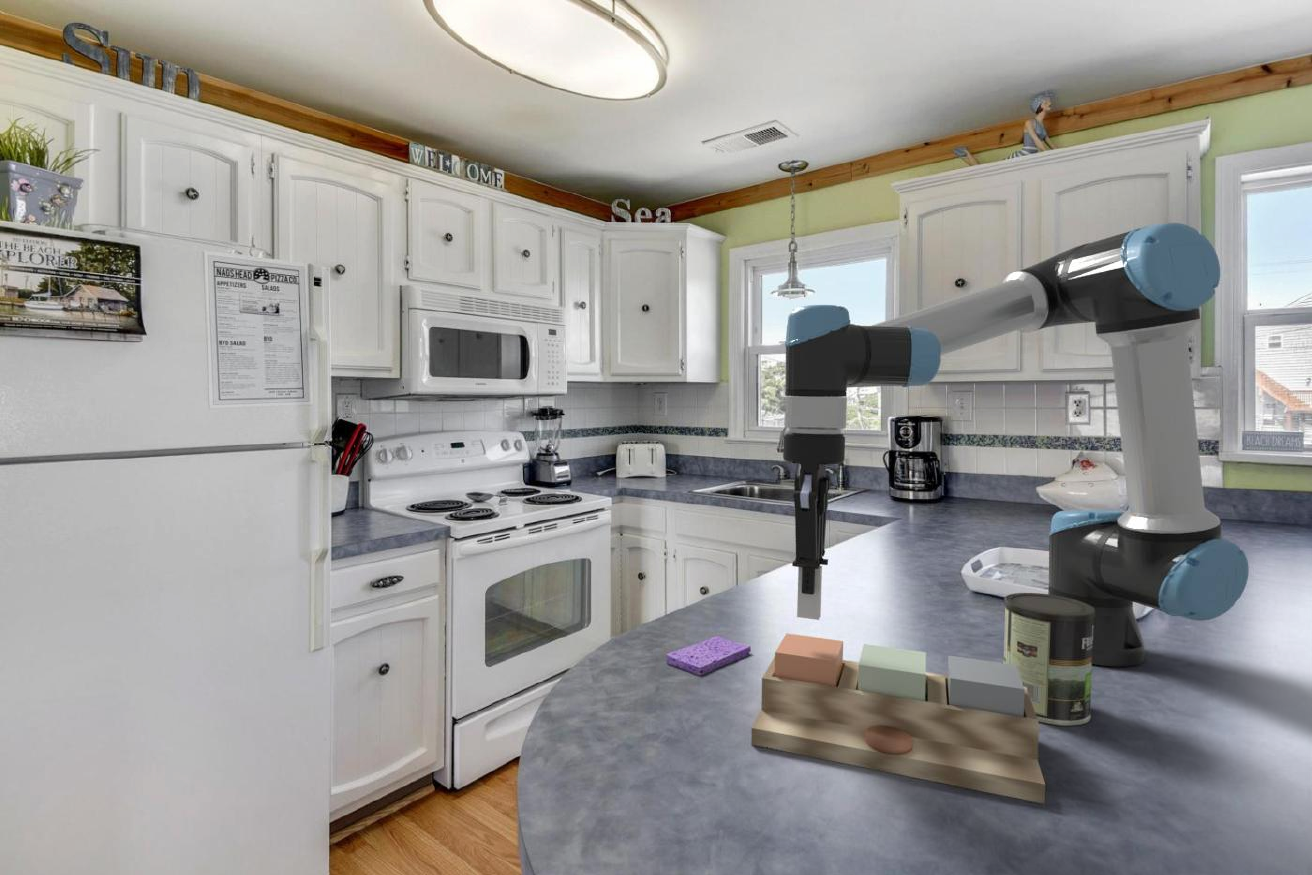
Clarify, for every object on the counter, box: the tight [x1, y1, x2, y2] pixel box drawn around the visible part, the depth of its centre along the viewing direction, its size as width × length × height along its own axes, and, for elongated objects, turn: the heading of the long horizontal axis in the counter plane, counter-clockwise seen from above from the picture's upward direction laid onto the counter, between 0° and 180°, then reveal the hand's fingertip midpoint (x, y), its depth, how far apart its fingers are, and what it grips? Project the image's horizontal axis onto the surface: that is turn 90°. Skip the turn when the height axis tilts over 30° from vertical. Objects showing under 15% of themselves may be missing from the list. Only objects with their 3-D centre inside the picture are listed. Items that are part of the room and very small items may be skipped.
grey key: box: [947, 654, 1025, 717], centre depth 78 cm, size 7×7×5 cm
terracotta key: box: [774, 633, 844, 687], centre depth 85 cm, size 7×7×5 cm
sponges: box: [665, 635, 752, 676], centre depth 105 cm, size 7×13×2 cm, turn 136°
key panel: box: [750, 656, 1046, 805], centre depth 79 cm, size 30×15×6 cm, turn 68°
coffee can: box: [1003, 592, 1095, 727], centre depth 88 cm, size 10×10×14 cm
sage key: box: [858, 643, 927, 701], centre depth 82 cm, size 7×7×5 cm
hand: (808, 616), depth 85 cm, fingers closed
